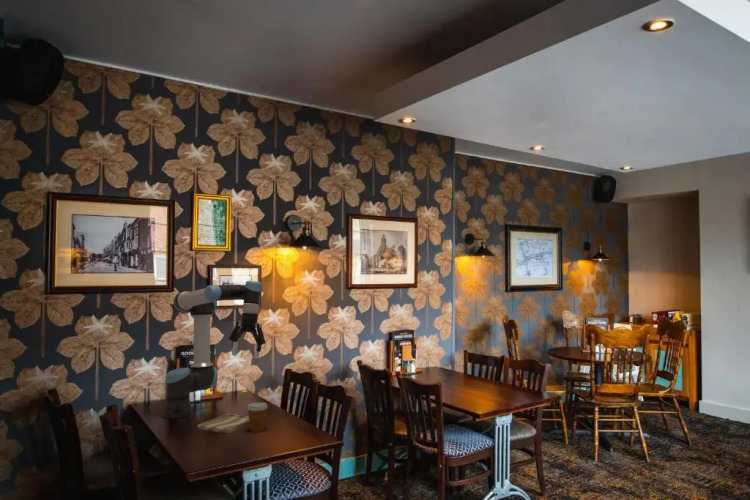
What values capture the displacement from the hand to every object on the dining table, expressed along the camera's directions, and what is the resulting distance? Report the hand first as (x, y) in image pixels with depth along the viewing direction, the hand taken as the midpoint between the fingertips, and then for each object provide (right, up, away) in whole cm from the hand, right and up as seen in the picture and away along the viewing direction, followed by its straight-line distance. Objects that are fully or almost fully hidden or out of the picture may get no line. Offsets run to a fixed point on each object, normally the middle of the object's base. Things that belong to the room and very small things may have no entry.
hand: (245, 357), depth 247 cm
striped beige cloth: (-9, -34, +3) cm, 35 cm away
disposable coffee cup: (+7, -34, -5) cm, 35 cm away
